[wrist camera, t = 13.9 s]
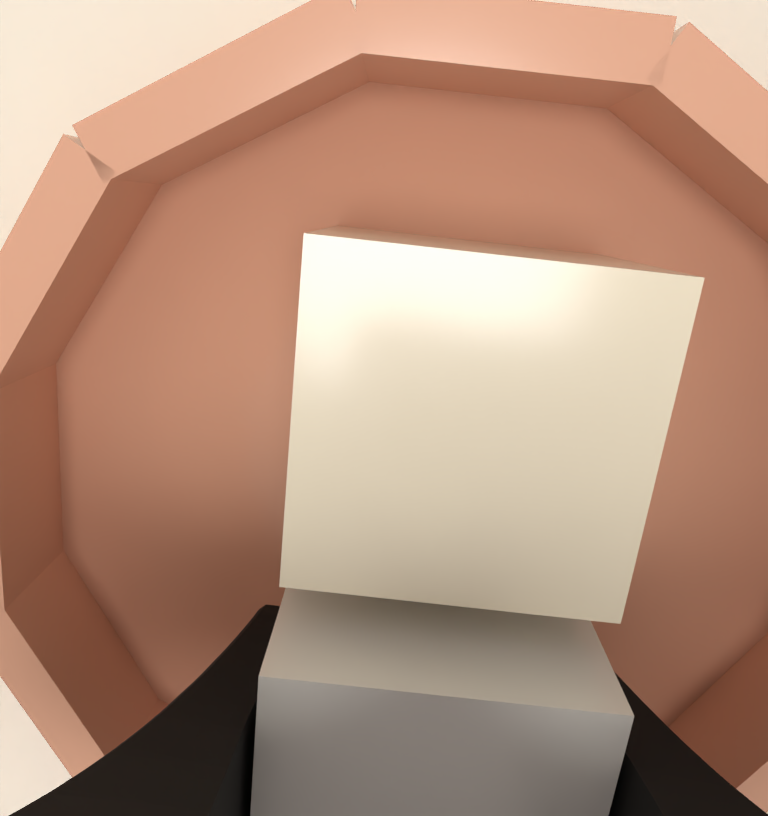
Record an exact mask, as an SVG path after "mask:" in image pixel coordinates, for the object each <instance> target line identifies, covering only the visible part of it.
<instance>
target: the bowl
mask: <svg viewBox="0 0 768 816" xmlns="http://www.w3.org/2000/svg"><path fill="white" fill-rule="evenodd" d="M676 18H677V16H669V15H660V14H651V13H642V12H633V11H624V10H615V9H606V8H598V7H589V6H580V5H571V4H562V3H553V2H544V1H535V0H356V11H355V8H354V6H353V4H352V1H351V0H311V1H309V2H307V3H305V4H303V5H302V6H300V7H298V8H296V9H294V10H292V11H290V12H288V13H286V14H284V15H282V16H280V17H279V18H277V19H275V20H273V21H271V22H269V23H267V24H265V25H263V26H261V27H259V28H257V29H256V30H254V31H252V32H250V33H248V34H246V35H244V36H242V37H240V38H238V39H236V40H234V41H233V42H231V43H229V44H227V45H225V46H223V47H221V48H219V49H217V50H215V51H213V52H211V53H210V54H208V55H206V56H204V57H202V58H200V59H198V60H196V61H194V62H192V63H190V64H188V65H187V66H185V67H183V68H181V69H179V70H177V71H175V72H173V73H171V74H169V75H167V76H165V77H164V78H162V79H160V80H158V81H156V82H154V83H152V84H150V85H148V86H146V87H144V88H142V89H141V90H139V91H137V92H135V93H133V94H131V95H129V96H127V97H125V98H123V99H121V100H119V101H118V102H116V103H114V104H112V105H110V106H108V107H106V108H104V109H102V110H100V111H98V112H96V113H95V114H93V115H91V116H89V117H87V118H85V119H83V120H81V121H79V122H77V123H75V124H73V125H72V126H73V127H74V129H75V131H76V133H77V135H78V137H79V138H78V137H74V136H69V135H65V134H63V135H62V137H61V139H60V141H59V143H58V145H57V147H56V149H55V150H54V152H53V154H52V156H51V158H50V160H49V162H48V163H47V165H46V167H45V169H44V171H43V173H42V175H41V177H40V178H39V180H38V182H37V184H36V186H35V188H34V190H33V191H32V193H31V195H30V197H29V199H28V201H27V203H26V204H25V206H24V208H23V210H22V212H21V214H20V216H19V218H18V219H17V221H16V223H15V225H14V227H13V229H12V231H11V232H10V234H9V236H8V238H7V240H6V242H5V244H4V245H3V247H2V249H1V251H0V676H1V678H2V679H3V681H4V682H5V684H6V685H7V686H8V688H9V689H10V691H11V692H12V693H13V695H14V696H15V698H16V699H17V700H18V702H19V703H20V705H21V706H22V707H23V709H24V710H25V712H26V713H27V714H28V716H29V717H30V719H31V720H32V721H33V723H34V724H35V726H36V727H37V728H38V730H39V731H40V733H41V734H42V736H43V737H44V738H45V740H46V741H47V743H48V744H49V745H50V747H51V748H52V750H53V751H54V752H55V754H56V755H57V757H58V758H59V759H60V761H61V762H62V764H63V765H64V766H65V768H66V769H67V771H68V772H69V773H70V775H71V776H72V778H73V777H74V776H76V775H77V774H79V773H80V772H82V771H83V770H85V769H86V768H88V767H89V766H90V765H92V764H93V763H95V762H96V761H98V760H99V759H100V758H102V757H103V756H105V755H106V754H108V753H109V752H111V751H112V750H113V749H115V748H116V747H117V746H119V745H120V744H121V743H122V742H124V741H125V740H126V739H128V738H129V737H130V736H132V735H133V734H134V733H135V732H137V731H138V730H139V729H140V728H142V727H143V726H144V725H145V724H147V723H148V722H149V721H150V720H151V719H153V718H154V717H155V716H156V715H157V714H159V713H160V712H161V711H162V710H163V709H164V708H165V707H167V706H168V705H169V704H170V703H171V702H172V701H173V700H174V699H175V698H176V697H177V696H178V695H180V694H181V693H182V692H183V691H184V690H185V689H186V688H187V687H188V686H189V685H190V684H192V683H193V682H194V681H195V680H196V679H197V678H198V677H199V676H200V675H201V674H202V673H203V672H204V671H205V670H206V669H207V668H208V667H209V666H210V665H211V663H212V662H213V661H214V660H215V659H216V658H217V657H218V656H219V655H220V654H221V653H222V652H223V651H224V650H225V649H226V648H227V647H228V646H229V644H230V643H231V642H232V641H233V640H234V639H235V638H236V637H237V636H238V634H239V633H240V632H241V631H242V630H243V629H244V627H245V626H246V625H247V624H248V623H249V621H250V620H251V619H252V618H253V616H254V615H255V614H256V612H257V611H258V610H259V609H260V608H262V607H263V606H264V605H276V606H280V605H281V602H282V598H283V595H284V592H285V589H286V588H285V587H279V582H280V568H281V553H282V539H283V525H284V510H285V496H286V481H287V467H288V452H289V438H290V423H291V409H292V394H293V380H294V365H295V351H296V336H297V322H298V307H299V293H300V278H301V264H302V249H303V235H304V233H307V232H311V231H315V230H320V229H324V228H328V227H333V226H337V225H339V226H348V227H357V228H366V229H375V230H384V231H393V232H402V233H411V234H420V235H429V236H438V237H447V238H456V239H465V240H474V241H483V242H492V243H501V244H510V245H519V246H528V247H537V248H546V249H555V250H564V251H574V252H583V253H592V254H600V255H605V256H609V257H614V258H618V259H623V260H627V261H632V262H636V263H641V264H645V265H650V266H654V267H659V268H663V269H668V270H672V271H677V272H681V273H686V274H690V275H695V276H699V277H704V278H705V279H704V283H703V287H702V291H701V295H700V299H699V303H698V308H697V312H696V316H695V320H694V324H693V328H692V332H691V336H690V341H689V345H688V349H687V353H686V357H685V361H684V365H683V369H682V373H681V378H680V382H679V386H678V390H677V394H676V398H675V402H674V406H673V410H672V415H671V419H670V423H669V427H668V431H667V435H666V439H665V443H664V448H663V452H662V456H661V460H660V464H659V468H658V472H657V476H656V480H655V485H654V489H653V493H652V497H651V501H650V505H649V509H648V513H647V517H646V522H645V526H644V530H643V534H642V538H641V542H640V546H639V550H638V555H637V559H636V563H635V567H634V571H633V575H632V579H631V583H630V587H629V592H628V596H627V600H626V604H625V608H624V612H623V616H622V620H621V624H617V623H608V622H599V621H591V622H592V625H593V627H594V629H595V631H596V633H597V636H598V638H599V640H600V642H601V644H602V646H603V649H604V651H605V653H606V655H607V657H608V660H609V662H610V664H611V666H612V668H613V670H614V672H615V673H616V674H617V675H618V676H619V677H620V678H621V679H622V680H623V681H624V682H625V683H626V685H627V686H628V687H629V688H630V689H631V690H632V691H633V692H634V693H635V694H636V695H637V696H638V697H639V698H640V699H641V700H642V701H643V702H644V703H645V704H646V705H647V706H648V707H649V708H650V709H651V710H652V711H653V712H654V713H655V714H656V715H657V716H658V717H659V718H660V719H661V720H662V721H663V722H664V723H665V724H666V725H667V726H668V727H669V728H670V729H671V730H672V731H673V732H674V733H675V734H676V735H677V736H678V737H679V738H680V739H681V740H682V741H683V742H684V743H685V744H686V745H687V746H689V747H690V748H691V749H692V750H693V751H694V752H695V753H696V754H697V755H698V756H699V757H701V758H702V759H703V760H704V761H705V762H706V763H707V764H708V765H709V766H710V767H711V768H713V769H714V770H715V771H716V772H717V773H718V774H719V775H720V776H722V777H723V778H724V779H725V780H726V781H727V782H729V783H730V784H731V785H732V786H733V787H735V788H736V789H737V790H738V791H739V792H741V793H742V794H743V795H744V796H746V797H747V798H748V799H749V800H751V801H752V802H753V803H754V804H756V805H757V806H758V807H759V808H761V809H762V810H763V811H764V812H765V813H767V812H768V91H767V90H766V89H765V88H763V87H762V86H761V85H760V84H759V83H758V82H757V81H756V80H754V79H753V78H752V77H751V76H750V75H749V74H748V73H747V72H745V71H744V70H743V69H742V68H741V67H740V66H739V65H737V64H736V63H735V62H734V61H733V60H732V59H731V58H730V57H728V56H727V55H726V54H725V53H724V52H723V51H722V50H721V49H719V48H718V47H717V46H716V45H715V44H714V43H713V42H712V41H710V40H709V39H708V38H707V37H706V36H705V35H704V34H703V33H701V32H700V31H699V30H698V29H697V28H696V27H695V26H693V25H692V24H691V23H690V22H688V23H687V24H685V25H684V26H682V27H681V28H679V29H677V30H676V31H674V27H675V22H676Z"/></svg>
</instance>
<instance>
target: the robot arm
mask: <svg viewBox="0 0 768 816" xmlns="http://www.w3.org/2000/svg"><path fill="white" fill-rule="evenodd" d="M279 608H280V606H276V605H264V606H263V607H262V608H260V609H259V610H258V611H257V612H256V614H255V615H254V616H253V618H252V619H251V620H250V621H249V623H248V624H247V625H246V626H245V627H244V629H243V630H242V631H241V632H240V633H239V634H238V636H237V637H236V638H235V639H234V640H233V641H232V642H231V643H230V644H229V646H228V647H227V648H226V649H225V650H224V651H223V652H222V653H221V654H220V655H219V656H218V657H217V658H216V659H215V660H214V661H213V662H212V663H211V665H210V666H209V667H208V668H207V669H206V670H205V671H204V672H203V673H202V674H201V675H200V676H199V677H198V678H197V679H196V680H195V681H194V682H193V683H192V684H190V685H189V686H188V687H187V688H186V689H185V690H184V691H183V692H182V693H181V694H180V695H178V696H177V697H176V698H175V699H174V700H173V701H172V702H171V703H170V704H169V705H168V706H167V707H165V708H164V709H163V710H162V711H161V712H160V713H159V714H157V715H156V716H155V717H154V718H153V719H151V720H150V721H149V722H148V723H147V724H145V725H144V726H143V727H142V728H140V729H139V730H138V731H137V732H135V733H134V734H133V735H132V736H130V737H129V738H128V739H126V740H125V741H124V742H122V743H121V744H120V745H119V746H117V747H116V748H115V749H113V750H112V751H111V752H109V753H108V754H106V755H105V756H103V757H102V758H100V759H99V760H98V761H96V762H95V763H93V764H92V765H90V766H89V767H88V768H86V769H85V770H83V771H82V772H80V773H79V774H77V775H76V776H74V777H73V778H71V779H70V780H68V781H66V782H65V783H63V784H62V785H60V786H59V787H57V788H56V789H54V790H52V791H51V792H49V793H48V794H46V795H44V796H42V797H41V798H39V799H37V800H36V801H34V802H32V803H30V804H29V805H27V806H25V807H24V808H22V809H20V810H18V811H16V812H15V813H13V814H11V815H9V816H250V810H251V794H252V777H253V760H254V744H255V727H256V711H257V694H258V677H259V673H260V670H261V667H262V663H263V660H264V657H265V654H266V650H267V647H268V644H269V641H270V637H271V634H272V631H273V628H274V624H275V621H276V618H277V615H278V611H279ZM614 673H615V672H614ZM615 675H616V677H617V679H618V681H619V683H620V686H621V688H622V690H623V692H624V694H625V697H626V699H627V701H628V703H629V705H630V707H631V710H632V712H633V714H634V720H633V724H632V727H631V731H630V735H629V739H628V743H627V747H626V750H625V754H624V758H623V762H622V766H621V770H620V773H619V777H618V781H617V785H616V789H615V793H614V796H613V800H612V804H611V808H610V812H609V815H608V816H768V814H767V813H765V812H764V811H763V810H762V809H761V808H759V807H758V806H757V805H756V804H754V803H753V802H752V801H751V800H749V799H748V798H747V797H746V796H744V795H743V794H742V793H741V792H739V791H738V790H737V789H736V788H735V787H733V786H732V785H731V784H730V783H729V782H727V781H726V780H725V779H724V778H723V777H722V776H720V775H719V774H718V773H717V772H716V771H715V770H714V769H713V768H711V767H710V766H709V765H708V764H707V763H706V762H705V761H704V760H703V759H702V758H701V757H699V756H698V755H697V754H696V753H695V752H694V751H693V750H692V749H691V748H690V747H689V746H687V745H686V744H685V743H684V742H683V741H682V740H681V739H680V738H679V737H678V736H677V735H676V734H675V733H674V732H673V731H672V730H671V729H670V728H669V727H668V726H667V725H666V724H665V723H664V722H663V721H662V720H661V719H660V718H659V717H658V716H657V715H656V714H655V713H654V712H653V711H652V710H651V709H650V708H649V707H648V706H647V705H646V704H645V703H644V702H643V701H642V700H641V699H640V698H639V697H638V696H637V695H636V694H635V693H634V692H633V691H632V690H631V689H630V688H629V687H628V686H627V685H626V683H625V682H624V681H623V680H622V679H621V678H620V677H619V676H618V675H617V674H616V673H615Z"/></svg>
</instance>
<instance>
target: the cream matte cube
mask: <svg viewBox="0 0 768 816" xmlns="http://www.w3.org/2000/svg"><path fill="white" fill-rule="evenodd" d="M704 279H705V278H704V277H699V276H695V275H690V274H686V273H681V272H677V271H672V270H668V269H663V268H659V267H654V266H650V265H645V264H641V263H636V262H632V261H627V260H623V259H618V258H614V257H609V256H605V255H600V254H592V253H583V252H574V251H564V250H555V249H546V248H537V247H528V246H519V245H510V244H501V243H492V242H483V241H474V240H465V239H456V238H447V237H438V236H429V235H420V234H411V233H402V232H393V231H384V230H375V229H366V228H357V227H348V226H339V225H337V226H333V227H328V228H324V229H320V230H315V231H311V232H307V233H304V235H303V249H302V264H301V278H300V293H299V307H298V322H297V336H296V351H295V365H294V380H293V394H292V409H291V423H290V438H289V452H288V467H287V481H286V496H285V510H284V525H283V539H282V553H281V568H280V582H279V587H285V588H294V589H303V590H312V591H322V592H331V593H340V594H349V595H359V596H368V597H377V598H386V599H396V600H405V601H414V602H423V603H432V604H442V605H451V606H460V607H469V608H479V609H488V610H497V611H506V612H516V613H525V614H534V615H543V616H553V617H562V618H571V619H580V620H589V621H599V622H608V623H617V624H621V620H622V616H623V612H624V608H625V604H626V600H627V596H628V592H629V587H630V583H631V579H632V575H633V571H634V567H635V563H636V559H637V555H638V550H639V546H640V542H641V538H642V534H643V530H644V526H645V522H646V517H647V513H648V509H649V505H650V501H651V497H652V493H653V489H654V485H655V480H656V476H657V472H658V468H659V464H660V460H661V456H662V452H663V448H664V443H665V439H666V435H667V431H668V427H669V423H670V419H671V415H672V410H673V406H674V402H675V398H676V394H677V390H678V386H679V382H680V378H681V373H682V369H683V365H684V361H685V357H686V353H687V349H688V345H689V341H690V336H691V332H692V328H693V324H694V320H695V316H696V312H697V308H698V303H699V299H700V295H701V291H702V287H703V283H704Z"/></svg>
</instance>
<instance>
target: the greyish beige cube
mask: <svg viewBox="0 0 768 816" xmlns="http://www.w3.org/2000/svg"><path fill="white" fill-rule="evenodd" d="M633 720H634V714H633V712H632V710H631V707H630V705H629V703H628V701H627V699H626V697H625V694H624V692H623V690H622V688H621V686H620V683H619V681H618V679H617V677H616V675H615V673H614V670H613V668H612V666H611V664H610V662H609V660H608V657H607V655H606V653H605V651H604V649H603V646H602V644H601V642H600V640H599V638H598V636H597V633H596V631H595V629H594V627H593V625H592V622H591V621H589V620H580V619H571V618H562V617H553V616H543V615H534V614H525V613H516V612H506V611H497V610H488V609H479V608H469V607H460V606H451V605H442V604H432V603H423V602H414V601H405V600H396V599H386V598H377V597H368V596H359V595H349V594H340V593H331V592H322V591H312V590H303V589H294V588H286V589H285V592H284V595H283V598H282V602H281V605H280V608H279V611H278V615H277V618H276V621H275V624H274V628H273V631H272V634H271V637H270V641H269V644H268V647H267V650H266V654H265V657H264V660H263V663H262V667H261V670H260V673H259V677H258V694H257V711H256V727H255V744H254V760H253V777H252V794H251V810H250V816H608V815H609V812H610V808H611V804H612V800H613V796H614V793H615V789H616V785H617V781H618V777H619V773H620V770H621V766H622V762H623V758H624V754H625V750H626V747H627V743H628V739H629V735H630V731H631V727H632V724H633Z"/></svg>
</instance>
